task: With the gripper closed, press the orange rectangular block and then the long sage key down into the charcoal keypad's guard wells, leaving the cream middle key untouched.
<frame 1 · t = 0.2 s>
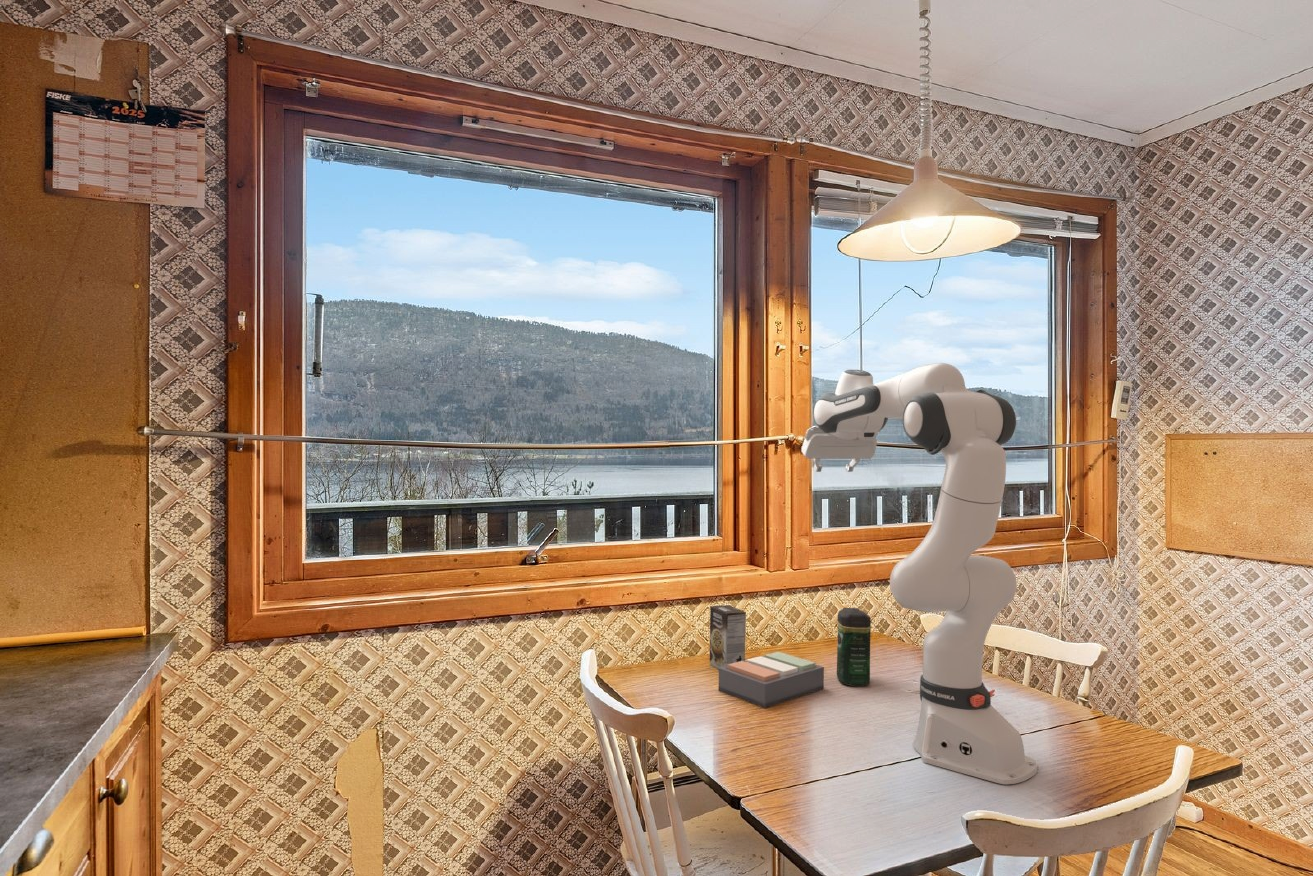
hand: (833, 470, 201), 54 cm above the table, tool tilted 30°, fingers open, 8 cm apart
coffee jar: (853, 682, 189), on the table
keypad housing: (771, 689, 181), on the table
cream key: (771, 669, 181), point 5 cm above the table, slide at 0.0 cm
orange rectangular block: (752, 674, 177), point 5 cm above the table, slide at 0.0 cm
sage key: (789, 664, 186), point 5 cm above the table, slide at 0.0 cm
coffee box: (726, 668, 199), on the table
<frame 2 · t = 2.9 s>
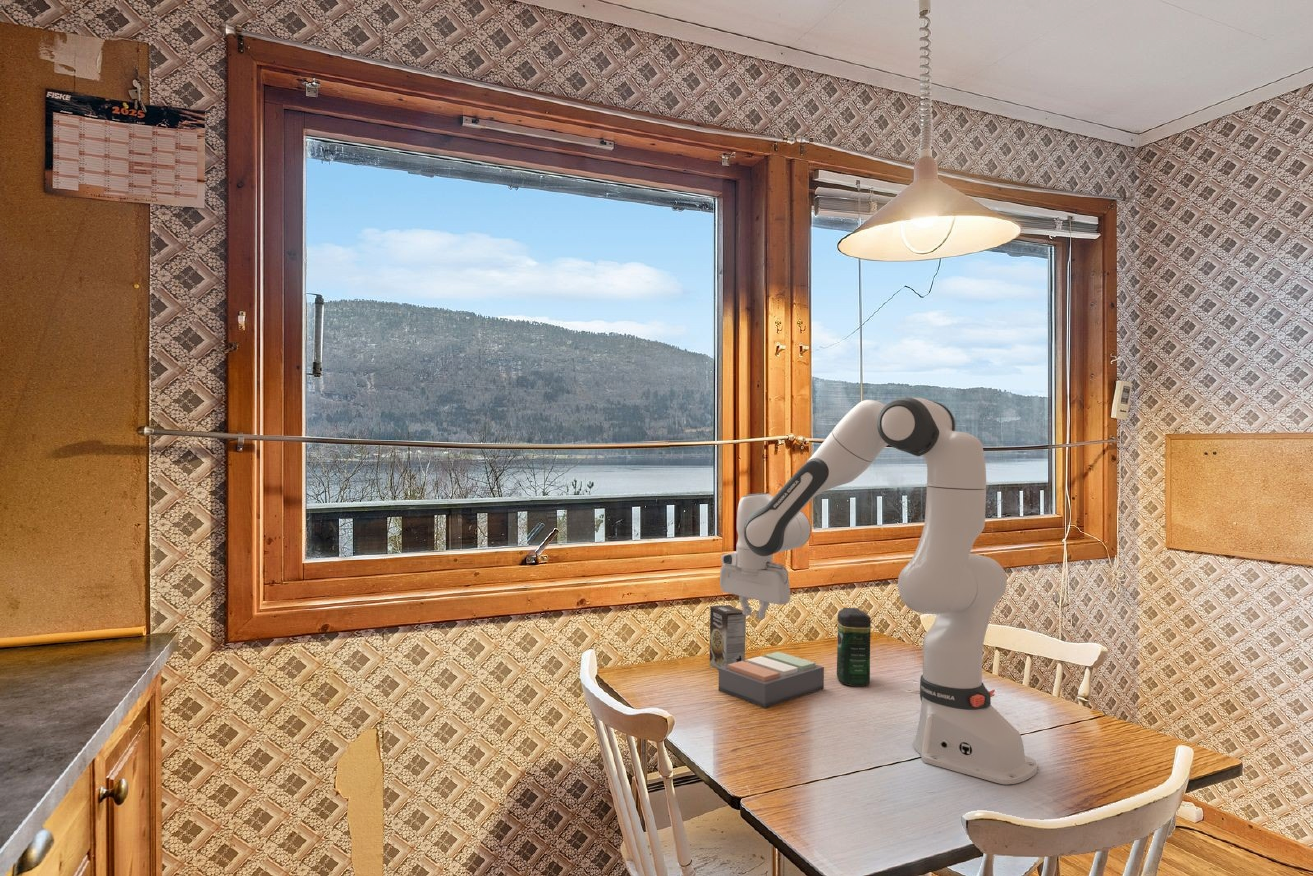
hand: (753, 616, 177), 19 cm above the table, tool pointing down, fingers open, 3 cm apart
nothing on the table moved.
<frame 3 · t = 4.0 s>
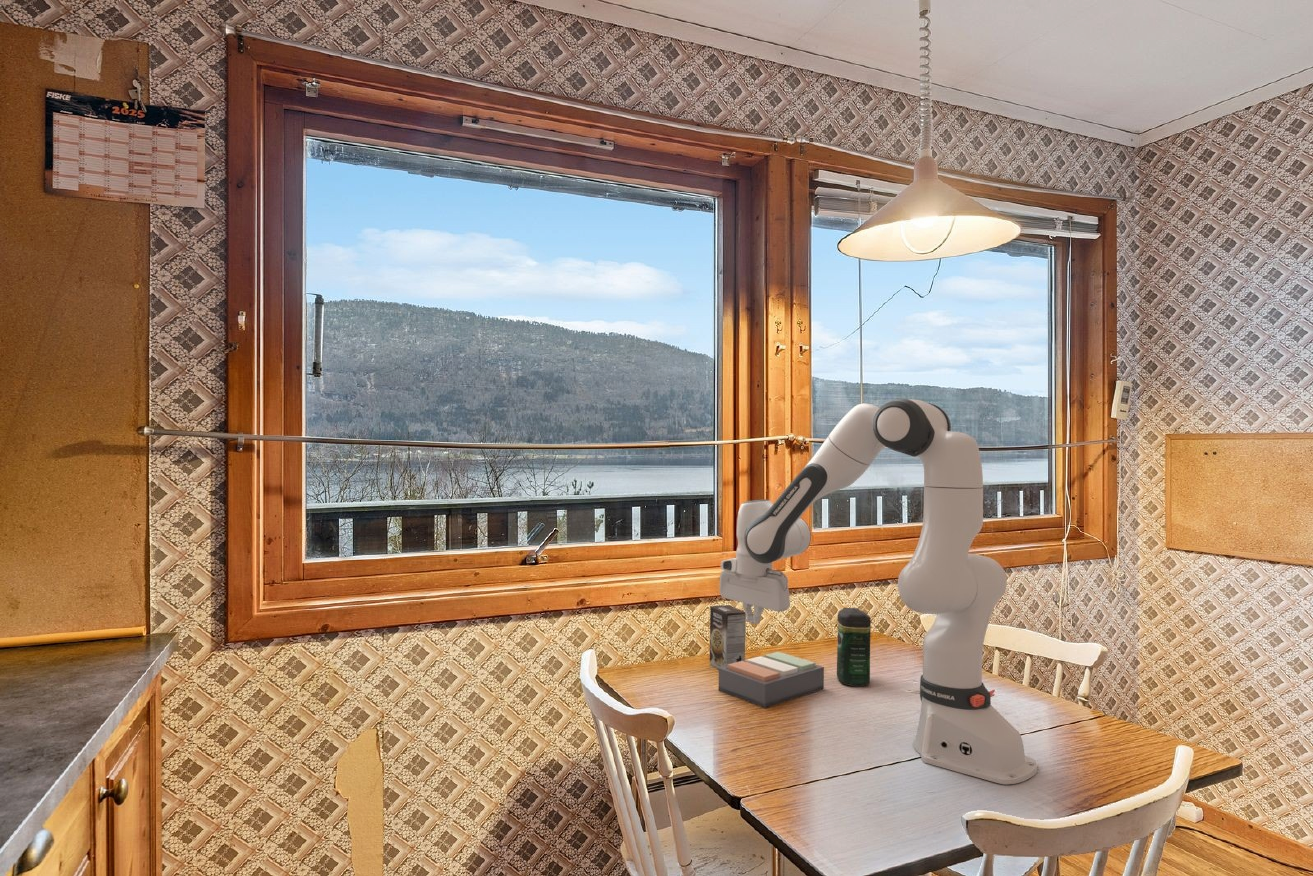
hand: (753, 622, 177), 18 cm above the table, tool pointing down, fingers closed
nothing on the table moved.
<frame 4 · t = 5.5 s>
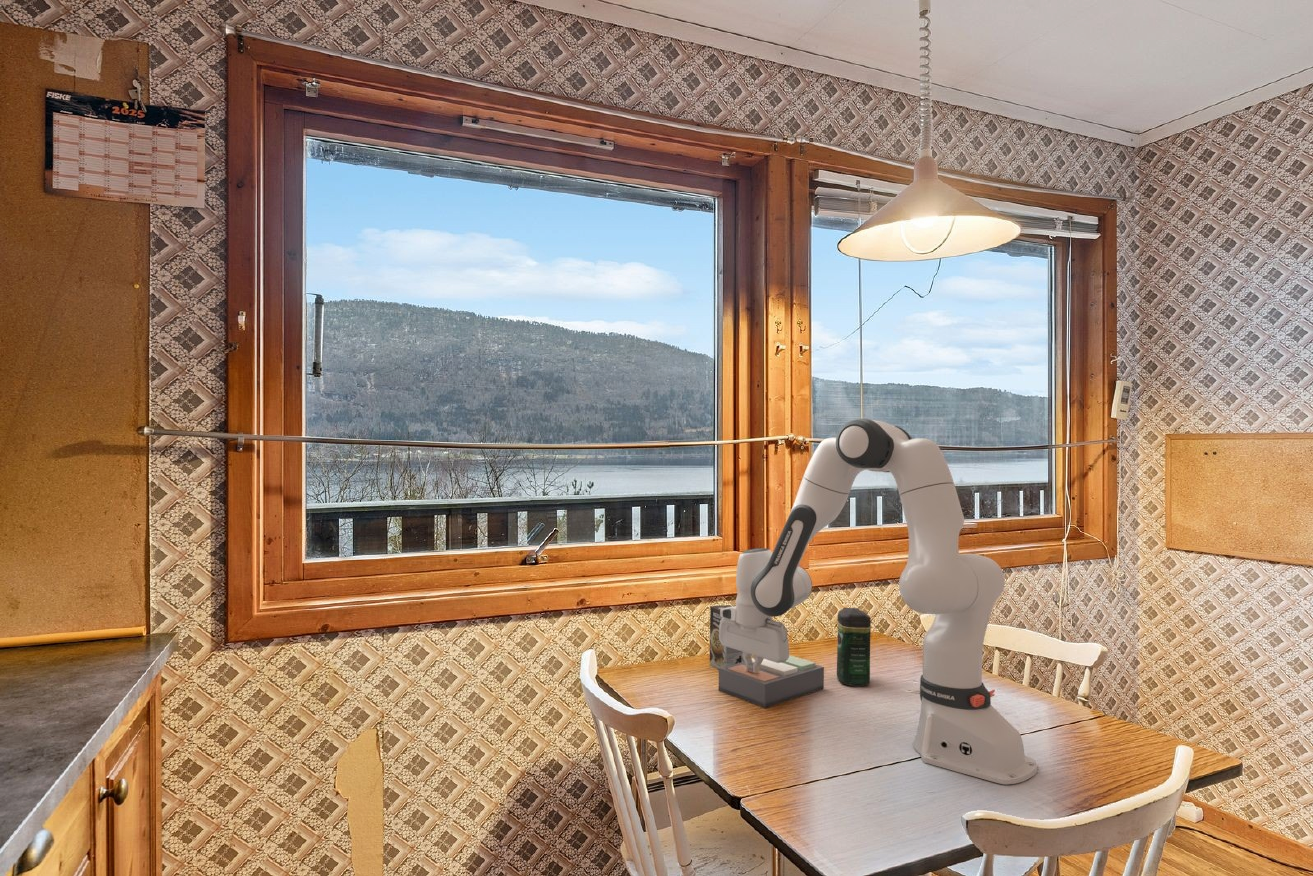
hand: (752, 672, 177), 6 cm above the table, tool pointing down, fingers closed
orange rectangular block: (752, 678, 177), point 4 cm above the table, slide at 0.9 cm, touching gripper
everything else where it was.
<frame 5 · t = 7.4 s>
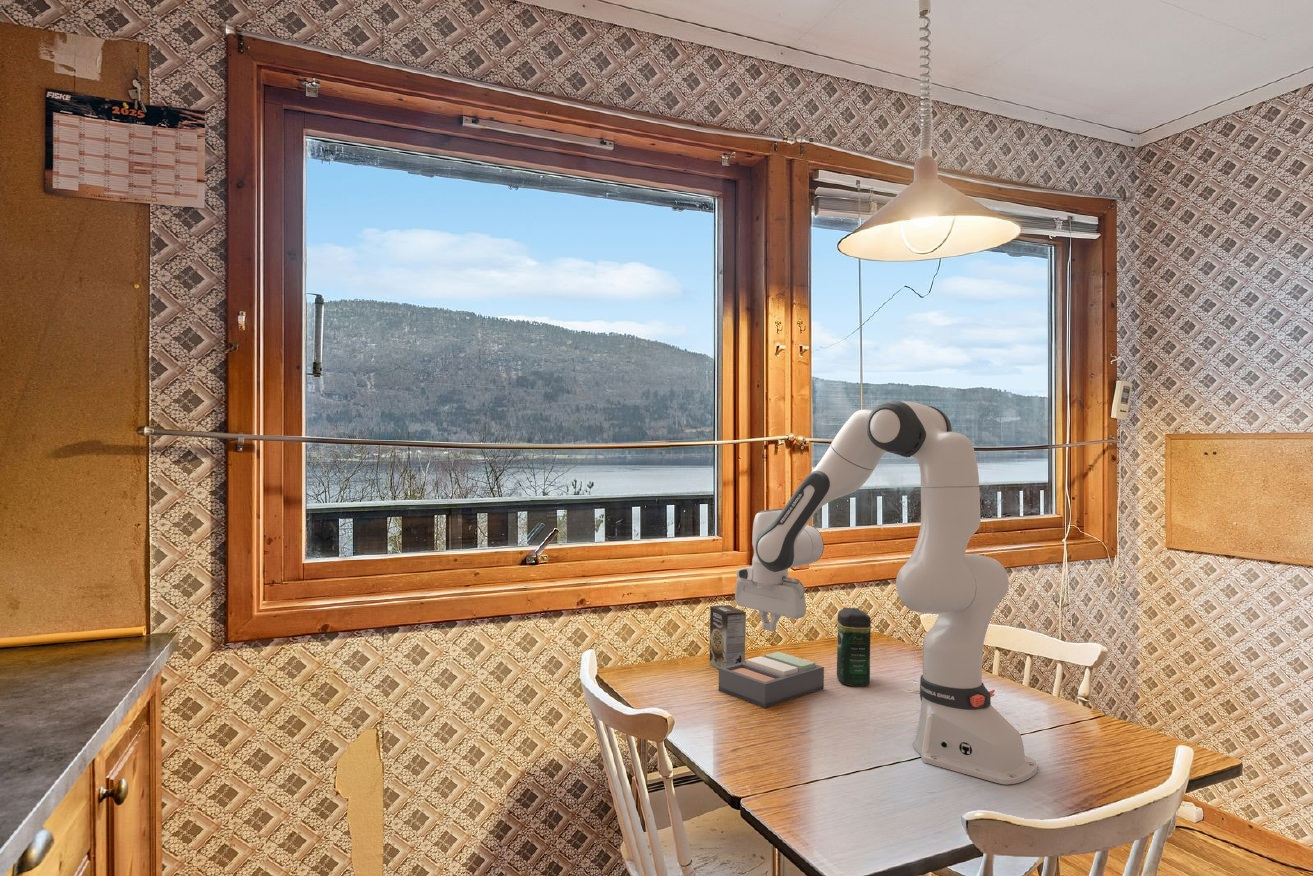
hand: (769, 630, 181), 15 cm above the table, tool pointing down, fingers closed
orange rectangular block: (752, 681, 177), point 3 cm above the table, slide at 1.7 cm
everything else where it was.
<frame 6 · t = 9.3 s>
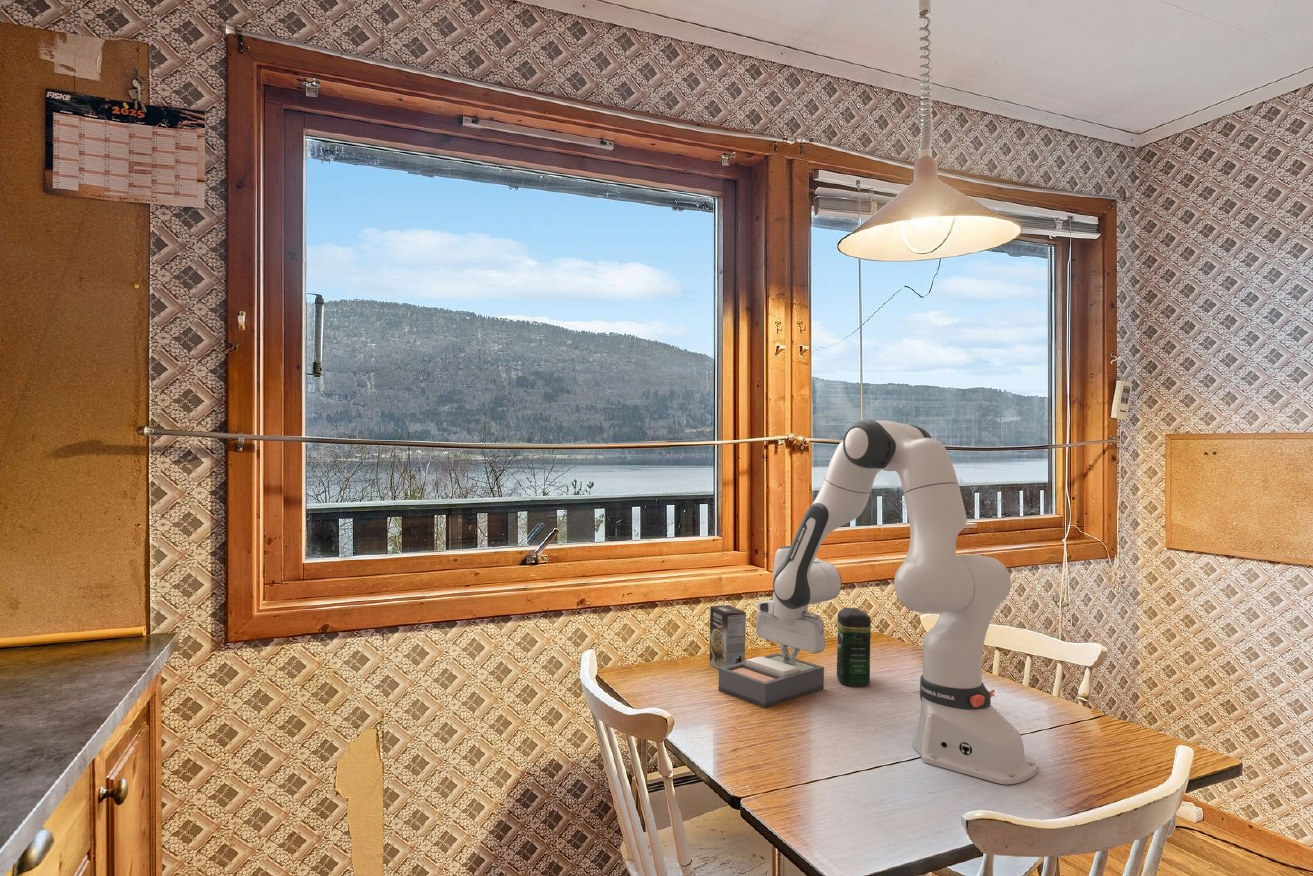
hand: (789, 662, 186), 5 cm above the table, tool pointing down, fingers closed, pressing on sage key
sage key: (789, 669, 186), point 4 cm above the table, slide at 1.1 cm, touching gripper
everything else where it was.
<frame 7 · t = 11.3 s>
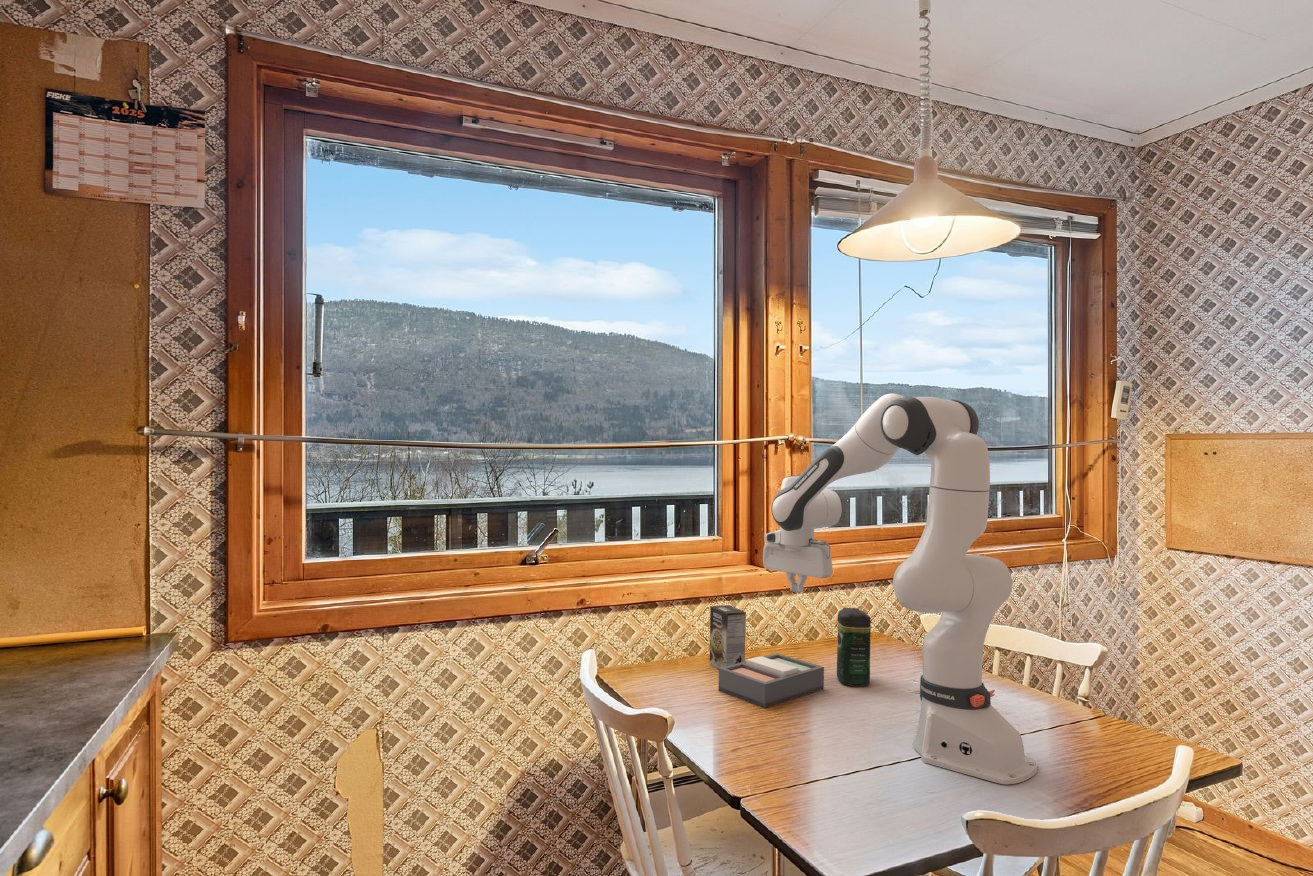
hand: (796, 591, 188), 23 cm above the table, tool pointing down, fingers closed
sage key: (789, 671, 186), point 3 cm above the table, slide at 1.7 cm
everything else where it was.
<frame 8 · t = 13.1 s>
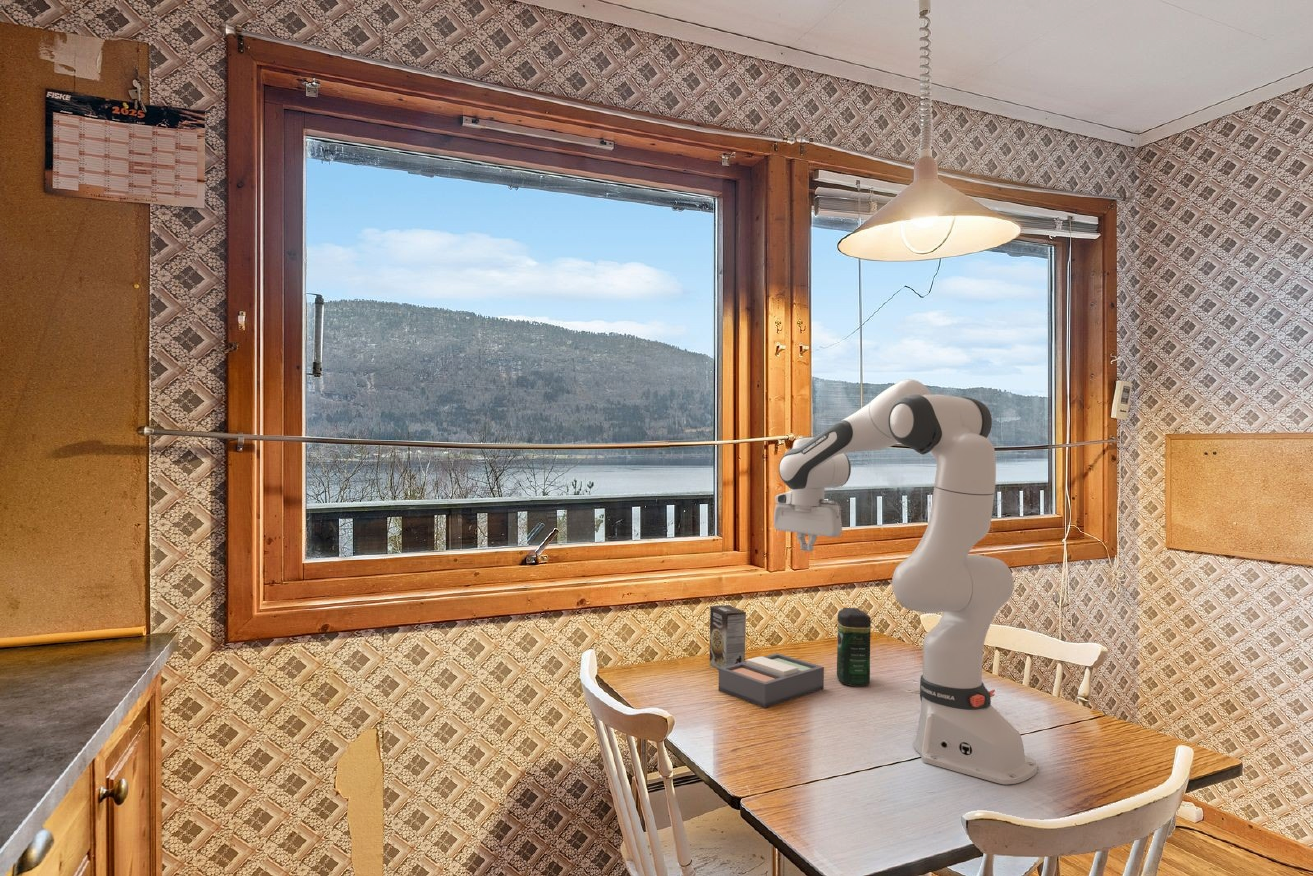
hand: (806, 550, 192), 33 cm above the table, tool pointing down, fingers closed
nothing on the table moved.
at the end: orange rectangular block slide at 1.7 cm; sage key slide at 1.7 cm; cream key slide at 0.0 cm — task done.
